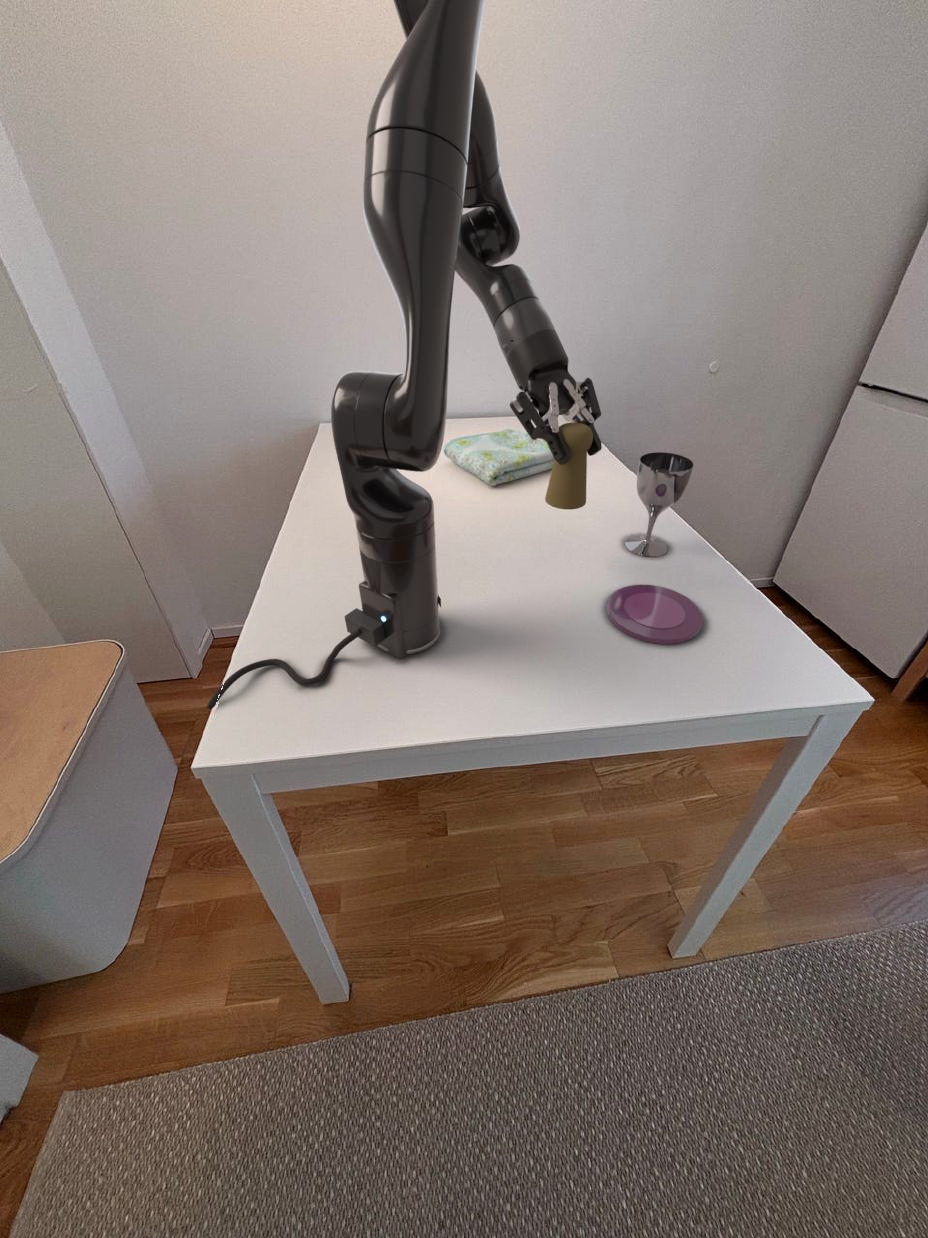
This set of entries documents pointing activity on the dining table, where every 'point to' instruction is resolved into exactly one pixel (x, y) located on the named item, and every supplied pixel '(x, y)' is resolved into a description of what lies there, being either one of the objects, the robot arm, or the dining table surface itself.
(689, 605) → the saucer
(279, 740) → the dining table surface
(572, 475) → the cork
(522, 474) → the towel
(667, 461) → the wine glass
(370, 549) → the robot arm
